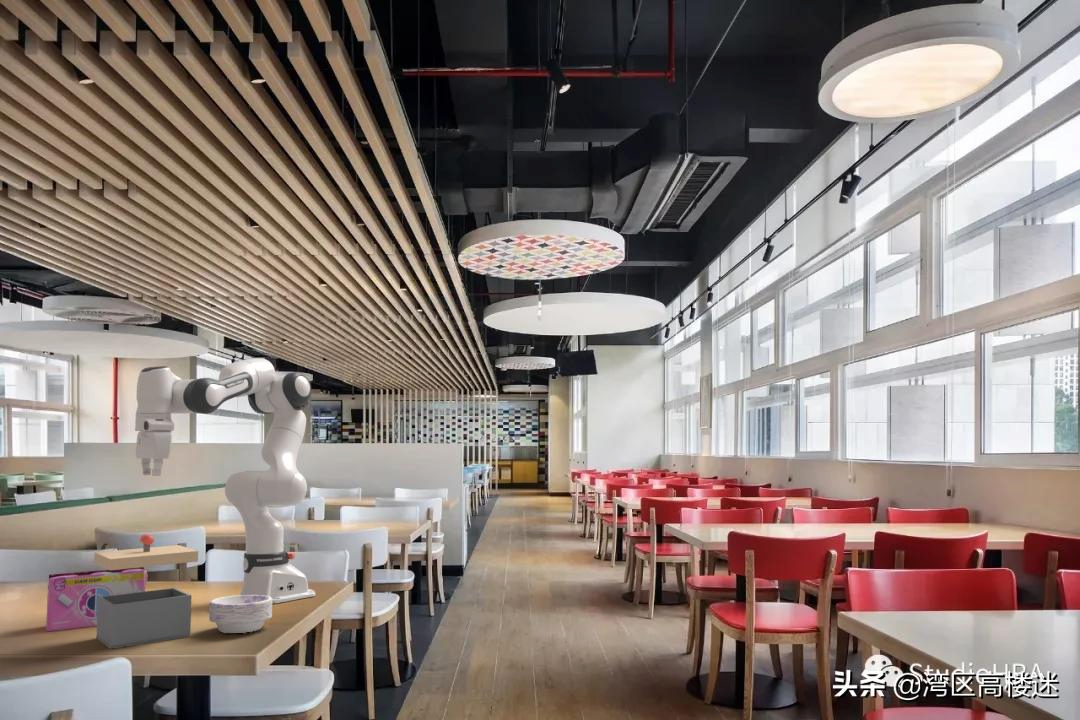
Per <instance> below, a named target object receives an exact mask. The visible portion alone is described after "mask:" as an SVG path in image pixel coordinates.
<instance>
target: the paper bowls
mask: <svg viewBox="0 0 1080 720" xmlns="http://www.w3.org/2000/svg"><path fill="white" fill-rule="evenodd" d="M272 600H273V599H272V598H271V597H270V596H265V595H240V594H239V595H238V594H237V595H228V596H222V597H217V598H214V599H212V600H210V601H209V609H208V610H209V612H208V615H209V616H208V617H209V618H208V620H209V622H212V623H215V624H216V627H217V629H218V631H219V632H220V633H222V632H223V634H226V633H243V634H247V633H246V632H250V633H254V632H257V631H259V630H260V629H261V628H262V627H263V625H264V624H265V623H266V621H267V620H270V619H271V618H272V617H273V603H272ZM253 631H254V632H253Z"/></svg>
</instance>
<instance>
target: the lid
mask: <svg viewBox="0 0 1080 720" xmlns="http://www.w3.org/2000/svg"><path fill="white" fill-rule="evenodd" d="M139 540H140V543H141V544H143V547H141V548H139V547H138V548H131V549H119V550H118V549H117V550H108V551H95V552H94V555H93V556H94V557H93V558H94V559H93V564H96V565H98V566H100V567H101V568H104V569H105V570H119V569H129V568H139V567H144V568H146V567H157V566H167V565H168V566H169V565H176V564H178V565H179V564H185V563H186V564H187V563H197V562H199V550H196V549H194V548H190V547H186V546H183V545H179V544H175V545H163V546H155V547H154V546H152V547H151V545H152V544H153V543H154V541H155V538H154V536H153V535H151V534H148V533H144V534H142V535H141V536H140V539H139Z"/></svg>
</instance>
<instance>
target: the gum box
mask: <svg viewBox="0 0 1080 720" xmlns="http://www.w3.org/2000/svg"><path fill="white" fill-rule="evenodd" d="M47 577H48V579H47V594H46V595H47V596H46V597H47V598H46V602H47V603H46V623H45V624H46V625H45V628H46V632H53V631H54V632H55V631H62V630H65V631H66V630H73V629H78V628H79V629H82V628H90V627H97V613H98V597H102V596H110V595H118V594H127V593H135V592H143V591H146V585H147V583H148V577H149V575H148V570H146V569H145V567H139V568H129V569H119V570H108V569H100V570H89V571H88V570H87V571H75V572H64V573H53V574H52V573H51V574H48V576H47Z"/></svg>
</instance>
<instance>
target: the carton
mask: <svg viewBox="0 0 1080 720" xmlns="http://www.w3.org/2000/svg"><path fill="white" fill-rule="evenodd" d="M191 621H192V594H189V593H187V592H185V591H183V590H180V589H178V588H176V587H172V588H171V587H170V588H163V589H155V590H154V589H153V590H145V591H143V592H135V593H127V594H118V595H110V596H102V597H98V613H97V626H96V639H97V640H98V641H99V642H101V643H102V644H103V645H104V644H105V647H107V648H108V647H109V648H108V649H110V650H112V649H111V648H114V649H119V647H120V648H124V646H126V647H132V646H137V645H145V644H151V643H156V642H164V641H169V640H175V639H183V638H190V637H191V627H192V626H191Z"/></svg>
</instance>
